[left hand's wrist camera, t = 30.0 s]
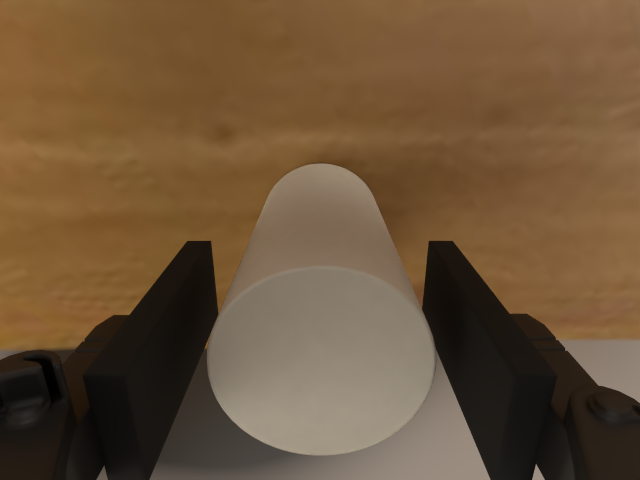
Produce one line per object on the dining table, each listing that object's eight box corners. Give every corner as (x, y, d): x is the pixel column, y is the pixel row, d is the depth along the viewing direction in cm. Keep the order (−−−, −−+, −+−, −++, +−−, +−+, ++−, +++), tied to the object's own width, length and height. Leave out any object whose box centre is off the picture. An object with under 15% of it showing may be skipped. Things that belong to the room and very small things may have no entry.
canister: (385, 260, 21) (447, 439, 11) (278, 280, 21) (240, 470, 11) (368, 152, 19) (424, 245, 9) (250, 175, 19) (174, 291, 9)
